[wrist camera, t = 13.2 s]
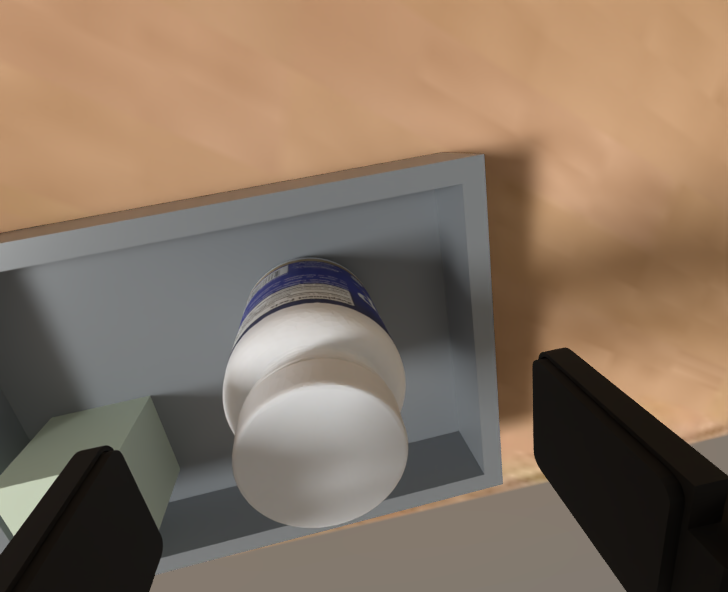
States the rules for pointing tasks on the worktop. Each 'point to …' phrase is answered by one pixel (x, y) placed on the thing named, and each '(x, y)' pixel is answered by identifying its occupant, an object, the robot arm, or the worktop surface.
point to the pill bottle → (314, 398)
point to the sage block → (84, 431)
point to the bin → (223, 317)
